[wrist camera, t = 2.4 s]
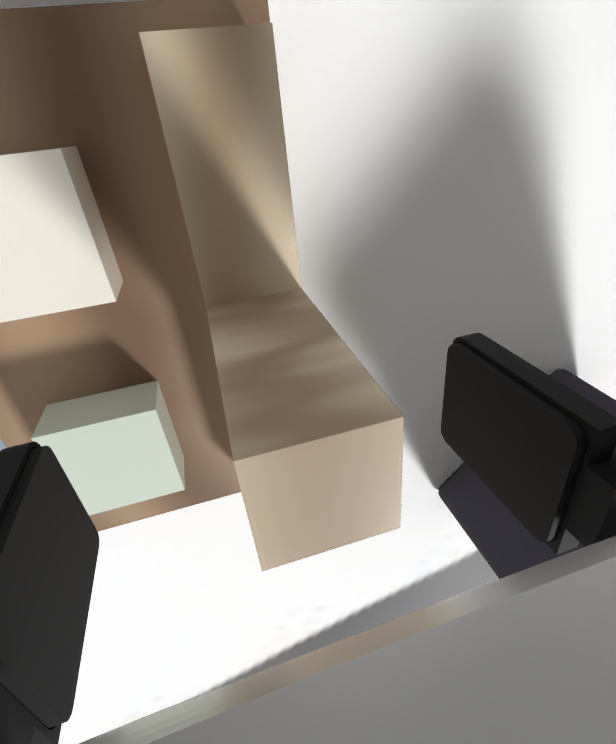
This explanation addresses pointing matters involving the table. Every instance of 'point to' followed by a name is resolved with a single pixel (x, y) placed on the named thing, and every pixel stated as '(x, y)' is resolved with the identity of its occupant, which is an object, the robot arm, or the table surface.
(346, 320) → the table surface
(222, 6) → the walnut board
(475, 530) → the charcoal rectangular box
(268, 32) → the bent tan panel
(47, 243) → the cream tile
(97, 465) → the sage tile
